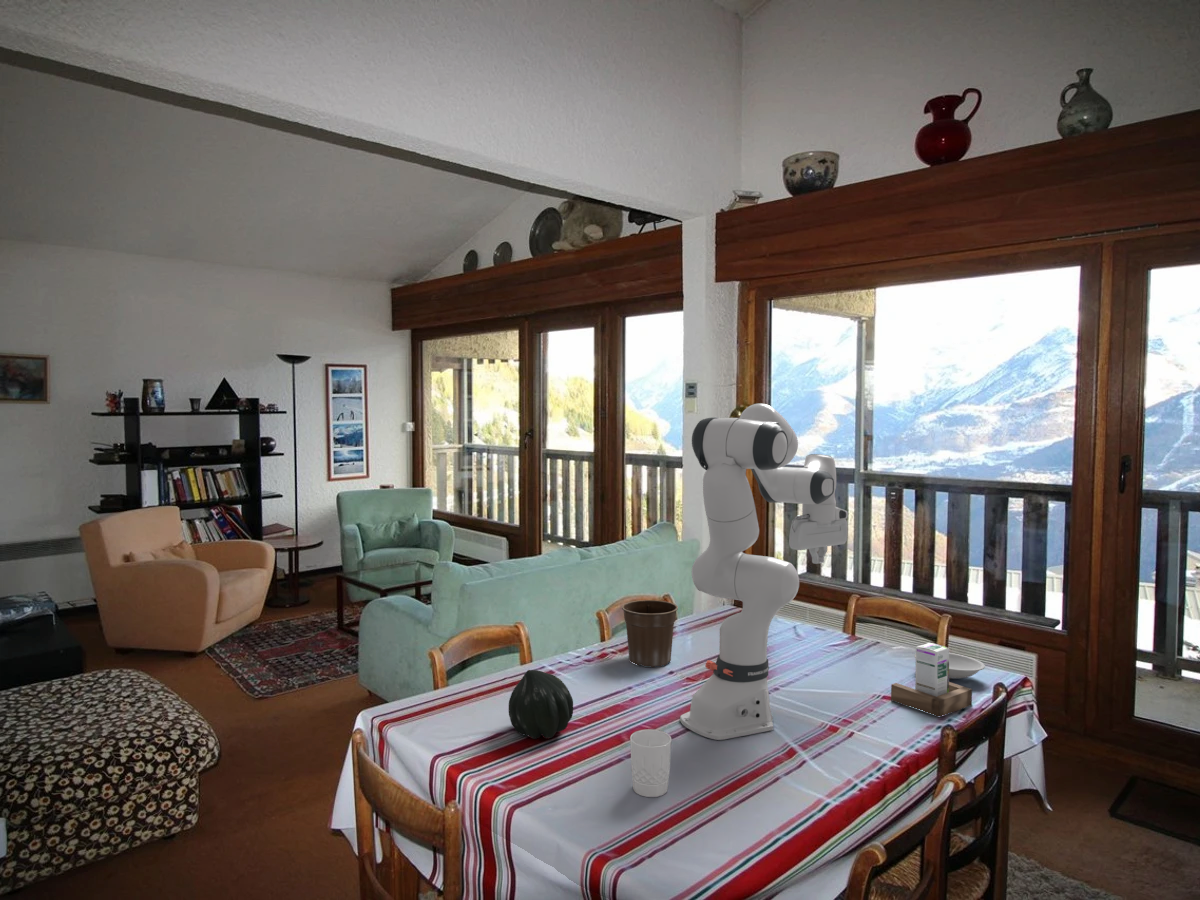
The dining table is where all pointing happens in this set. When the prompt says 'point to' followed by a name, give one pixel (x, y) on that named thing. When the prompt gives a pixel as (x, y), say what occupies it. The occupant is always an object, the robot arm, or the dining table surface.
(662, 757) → the white cup
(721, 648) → the robot arm
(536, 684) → the squash
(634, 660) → the plant pot
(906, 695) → the walnut bay
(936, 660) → the syrup box
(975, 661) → the dish
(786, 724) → the dining table surface
